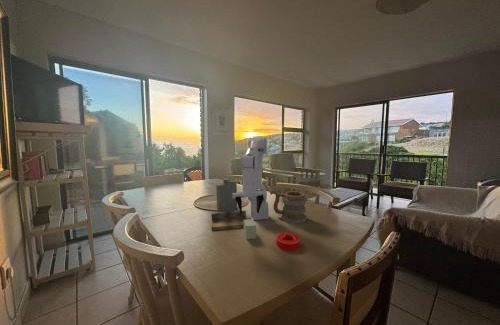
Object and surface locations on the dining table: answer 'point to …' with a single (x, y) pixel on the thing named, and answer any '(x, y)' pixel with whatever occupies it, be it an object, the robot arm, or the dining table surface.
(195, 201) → the dining table surface
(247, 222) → the mini cabinet
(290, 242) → the decorative ornament
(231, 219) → the cleat wall
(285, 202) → the tankard
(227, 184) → the hip flask
